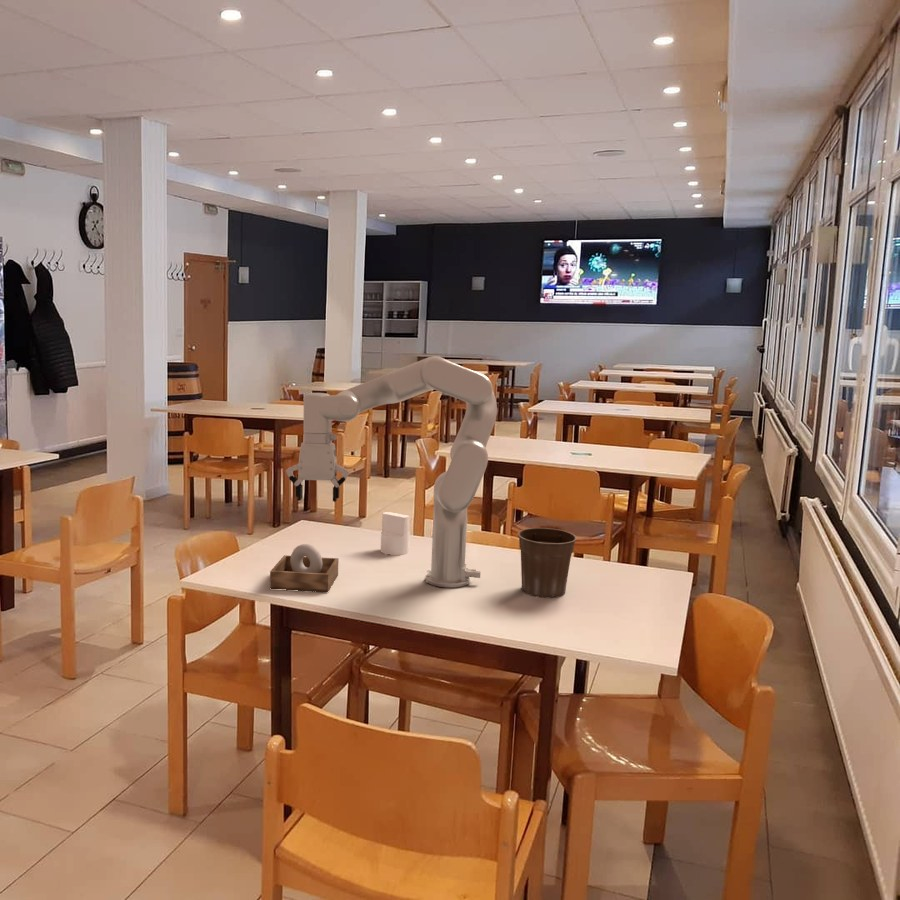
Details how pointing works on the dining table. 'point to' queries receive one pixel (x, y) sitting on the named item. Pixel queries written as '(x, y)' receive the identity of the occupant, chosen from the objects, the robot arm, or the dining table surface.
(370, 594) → the dining table surface
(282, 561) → the walnut box
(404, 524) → the white block
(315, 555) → the donut
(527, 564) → the plant pot
